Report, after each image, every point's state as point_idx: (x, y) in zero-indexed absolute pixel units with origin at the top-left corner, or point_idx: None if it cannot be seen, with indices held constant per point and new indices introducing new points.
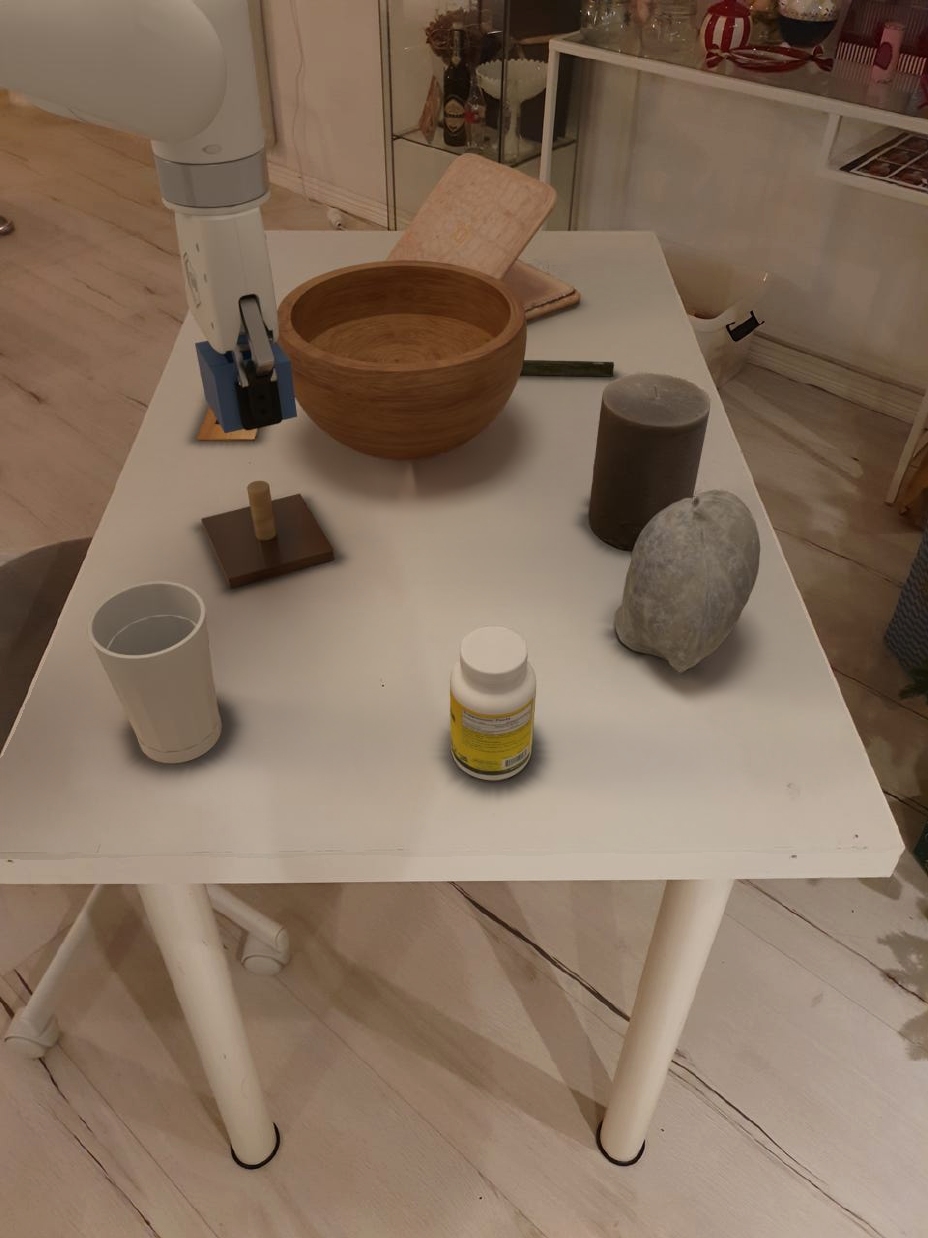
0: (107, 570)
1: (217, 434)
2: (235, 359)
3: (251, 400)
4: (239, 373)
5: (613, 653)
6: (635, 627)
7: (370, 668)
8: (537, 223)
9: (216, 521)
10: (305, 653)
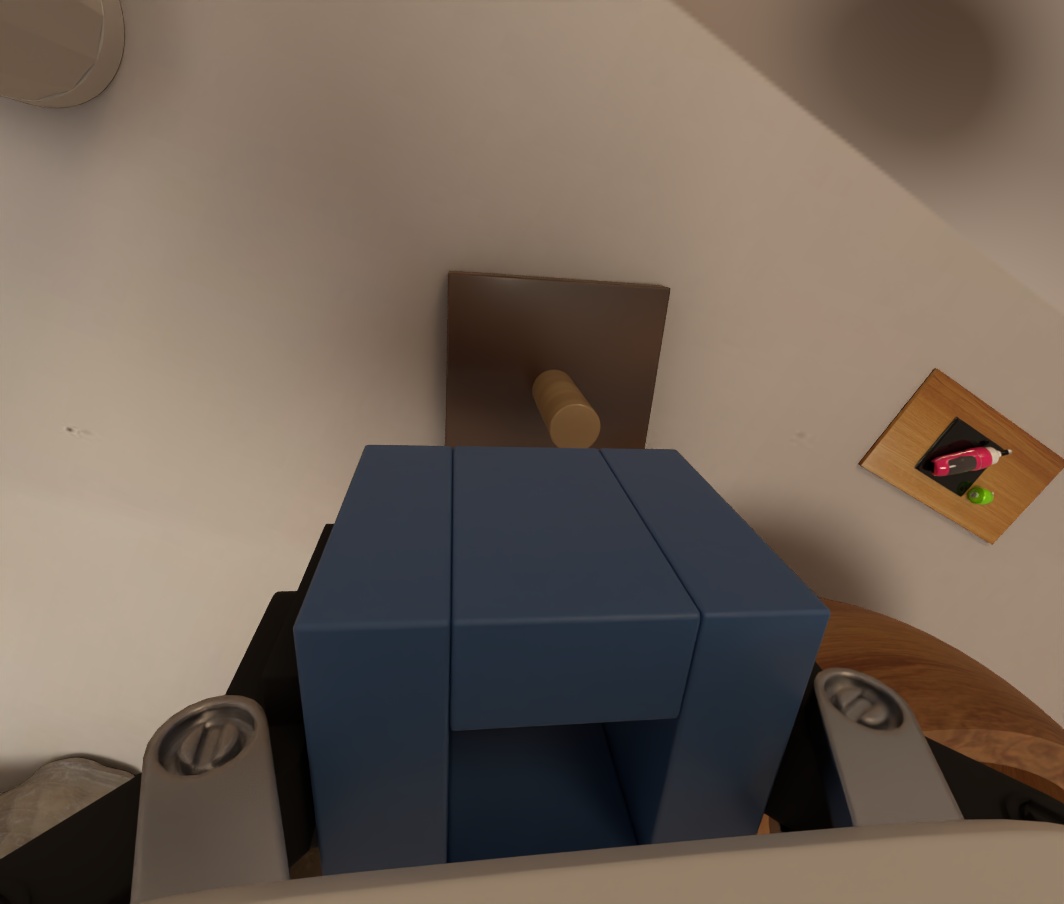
0: (640, 33)
1: (922, 409)
2: (167, 890)
3: (239, 666)
4: (145, 799)
5: (55, 739)
6: (5, 808)
7: (123, 426)
8: None
9: (643, 314)
10: (201, 337)
